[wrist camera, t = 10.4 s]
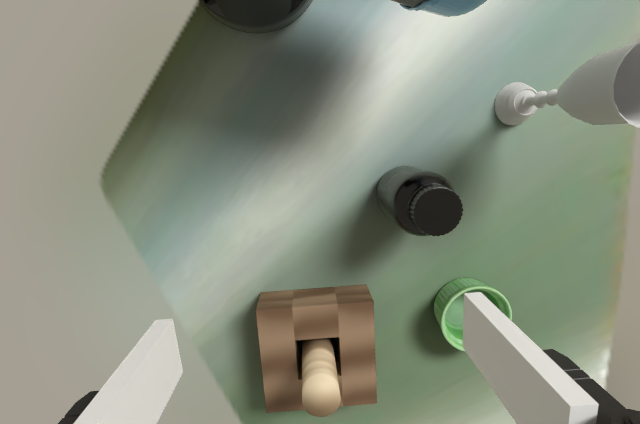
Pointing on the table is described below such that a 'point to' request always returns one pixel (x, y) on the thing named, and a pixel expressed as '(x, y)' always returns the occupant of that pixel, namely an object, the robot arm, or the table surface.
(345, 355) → the socket block
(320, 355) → the peg
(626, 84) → the chalice
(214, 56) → the table surface
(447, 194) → the supplement bottle
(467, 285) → the ramekin
